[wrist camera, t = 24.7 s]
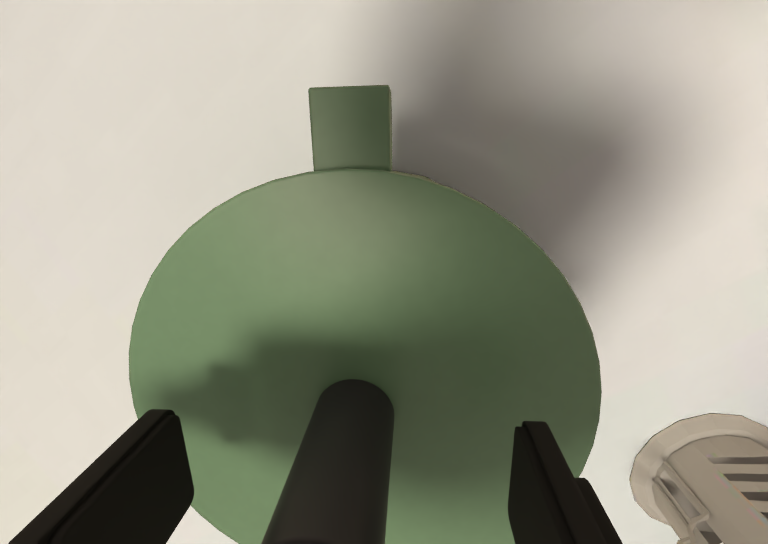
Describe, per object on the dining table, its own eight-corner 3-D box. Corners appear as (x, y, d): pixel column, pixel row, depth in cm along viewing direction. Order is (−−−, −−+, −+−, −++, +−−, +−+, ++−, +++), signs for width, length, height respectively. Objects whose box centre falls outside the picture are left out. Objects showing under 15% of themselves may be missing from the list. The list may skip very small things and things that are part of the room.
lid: (188, 543, 17) (48, 783, 10) (108, 172, 12) (-223, 187, 6) (559, 564, 16) (662, 851, 9) (618, 162, 11) (899, 169, 5)
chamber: (285, 420, 28) (200, 594, 17) (252, 124, 22) (91, 90, 11) (491, 427, 27) (546, 618, 16) (513, 116, 21) (624, 70, 10)
